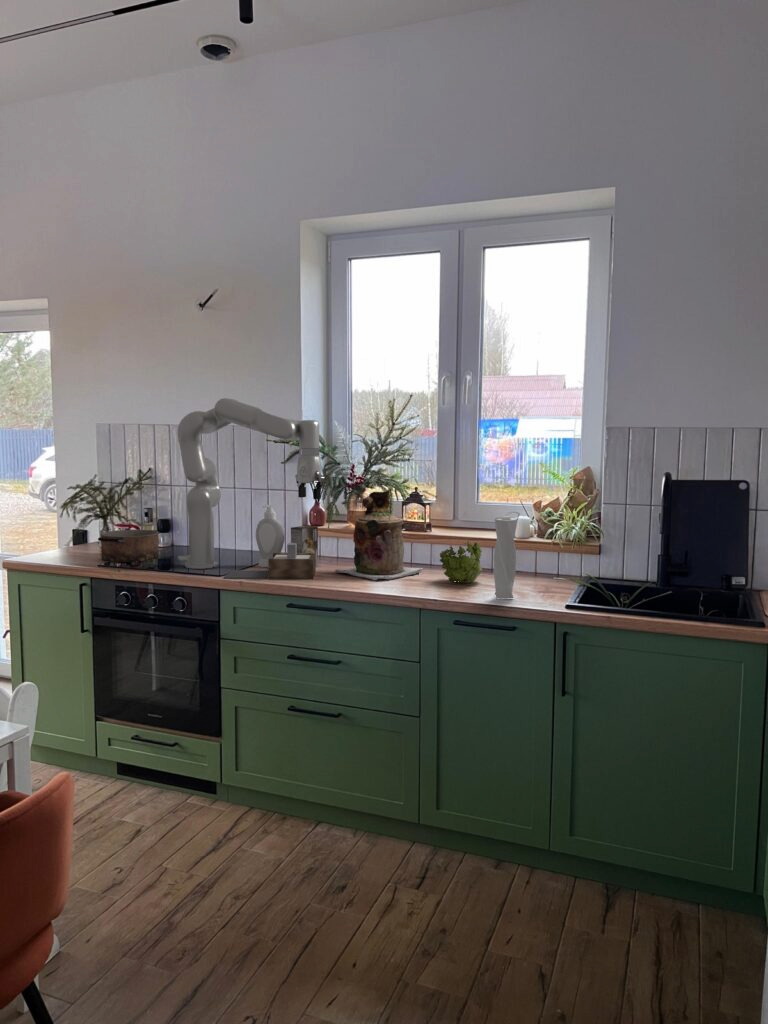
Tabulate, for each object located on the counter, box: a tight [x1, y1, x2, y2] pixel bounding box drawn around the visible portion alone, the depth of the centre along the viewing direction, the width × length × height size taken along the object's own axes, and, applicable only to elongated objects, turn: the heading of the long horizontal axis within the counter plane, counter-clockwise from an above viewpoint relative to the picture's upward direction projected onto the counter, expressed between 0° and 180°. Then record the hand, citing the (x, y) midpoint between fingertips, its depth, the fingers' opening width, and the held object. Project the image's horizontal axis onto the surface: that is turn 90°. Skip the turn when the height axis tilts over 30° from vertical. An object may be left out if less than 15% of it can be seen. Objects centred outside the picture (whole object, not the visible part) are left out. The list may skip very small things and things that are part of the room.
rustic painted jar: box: [335, 489, 423, 581], centre depth 285 cm, size 25×25×32 cm
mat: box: [223, 569, 269, 580], centre depth 280 cm, size 15×15×1 cm
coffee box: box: [290, 525, 319, 568], centre depth 297 cm, size 9×6×16 cm
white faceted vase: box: [493, 511, 521, 599], centre depth 246 cm, size 8×8×28 cm
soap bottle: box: [255, 504, 286, 568], centre depth 296 cm, size 13×8×24 cm, turn 69°
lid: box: [273, 542, 311, 559], centre depth 280 cm, size 13×11×6 cm
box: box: [268, 552, 317, 580], centre depth 280 cm, size 16×15×7 cm
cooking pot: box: [97, 529, 160, 563], centre depth 313 cm, size 30×22×11 cm
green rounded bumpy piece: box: [439, 540, 483, 583], centre depth 271 cm, size 18×16×16 cm
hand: (309, 498), depth 289 cm, fingers open, 9 cm apart
